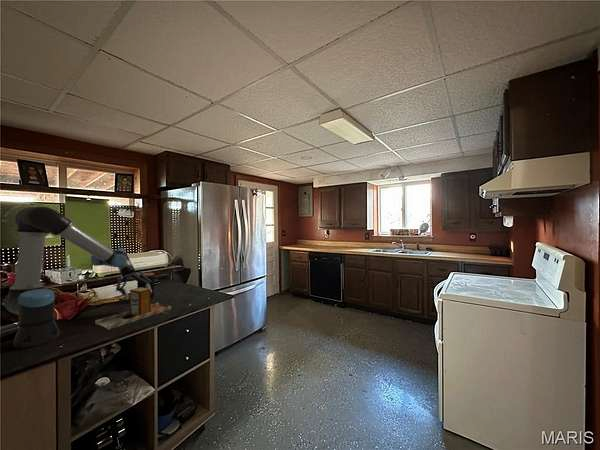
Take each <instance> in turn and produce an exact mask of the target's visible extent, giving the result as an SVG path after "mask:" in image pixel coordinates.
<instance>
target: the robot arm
mask: <svg viewBox="0 0 600 450" xmlns="http://www.w3.org/2000/svg"><path fill="white" fill-rule="evenodd" d="M14 222H15V223H16V225H17V226H16V227H17V228H16V234H18V235H19V236H20V239H19V240H20V241H19V247H18V254H17V261H16V262H17V263H16V271H15V278H14V284H12V286H10V287H9V289H8V294H7V295H6V296H5V298H4V300H3V305H4V307H5V309H6V310H7V311H8V312H10V313H11V314H13V315H17V316H18V329H17V332H16V333H15V336H14V338H13V342H12V344H13V345H12V346H13V348H17V349H22V348H25V349H26V348H31V347H35V346H39V345H44V344H46V343H49V342H51V341H53V340H55V339H57V338H59V337H60V329H59V327H58V325H57V323H56V321H55V298H56V297H55V292H54V291H53V290H52V289H49V288H48V289H47V288H44V285H43V284H42V283H41V276H42V275H41V274H42V267H43V258H44V252H45V251H44V250H45V242H46V237H47V236H48V235H50V234H51V235H53V236H60V237H62V238H63V239H64V240H66V241H68V242H70V243H72V244H73V245H75V246H76V247H78V248H80V249H82V250H83V251H84V252H87V253H89V254H90V255H91V257H90V263H91V265H92V266H94V267H98V266H106V267H113V268H118V270H119V272H120V275H118V276H117V283H116V288H115V291H116V292H119V293H121V295H122V296H124V298H125V300H126V301H128V300H129V299H130V294H128V292H127V289H126V288H125V287H126V285H127V283H128V282H137V281H139V282H141V283H143V284H145V285H146V288H148V289H151V285H150V283H151V282H152V281H151V280H150V279H149V278H147V277H146V276H145V275H143V274H142V273H143V272H142V271H139V272H138V273H137V272H136V270H135V268H134V265H133V263H132V261H131V260H130V257H129V256H128V253H127V252H126V250H125V249H124V248H120V247H119V248H116V249H111V248H110V247H108V246H107V245H105V244H103V243H102V242H100V241H98V239H95V237H94V236H93V237H92V235H89V234H88V233H86V232H85V231H83V230H81V228H79V227H77V226H76V225H74V224H73V221H72V220H71V219H70V218H67V217H66V216H64V215H63V214H62V213H60V212H58V211H57V210H55V209H53V208H51V207H49V206H29V207H24V208H22V209H20V210H19V211H18V212H17V213H16V214H15V215H14ZM122 279H123V280H124V282H123V284H122V285H121V283H122ZM151 292H152V290H151Z"/></svg>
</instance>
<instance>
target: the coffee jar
mask: <svg viewBox="0 0 600 450" xmlns="http://www.w3.org/2000/svg"><path fill="white" fill-rule="evenodd" d="M142 274H143V275H145V276H146V277H147V278H149V279H150V280H151V281H152V282H151V283H150V285H151V290H152V292H151V299H153V298H154V297H155V276H154V275H155V273H154V272H144V273H143V272H142ZM136 282H137V286H136V287H137V288H140V287H142V288H146V285H145V284H143V283H141V282H139V281H136Z"/></svg>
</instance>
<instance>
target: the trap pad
mask: <svg viewBox="0 0 600 450" xmlns="http://www.w3.org/2000/svg"><path fill="white" fill-rule="evenodd" d="M165 307H166V306H163V305H160V304H159V306H156V307H152V308H151V312H152V311H155V310H158V309H161V308H165Z"/></svg>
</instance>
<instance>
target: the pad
mask: <svg viewBox="0 0 600 450" xmlns="http://www.w3.org/2000/svg"><path fill="white" fill-rule="evenodd" d="M123 320H126V318H124V317H119V318H116V319H112V320H109V321H106V322H102V323H99V324H97V325H98V326H100V327H102V328H104V329H107V325H110V324H113V323H117V322H120V321H123Z"/></svg>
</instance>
